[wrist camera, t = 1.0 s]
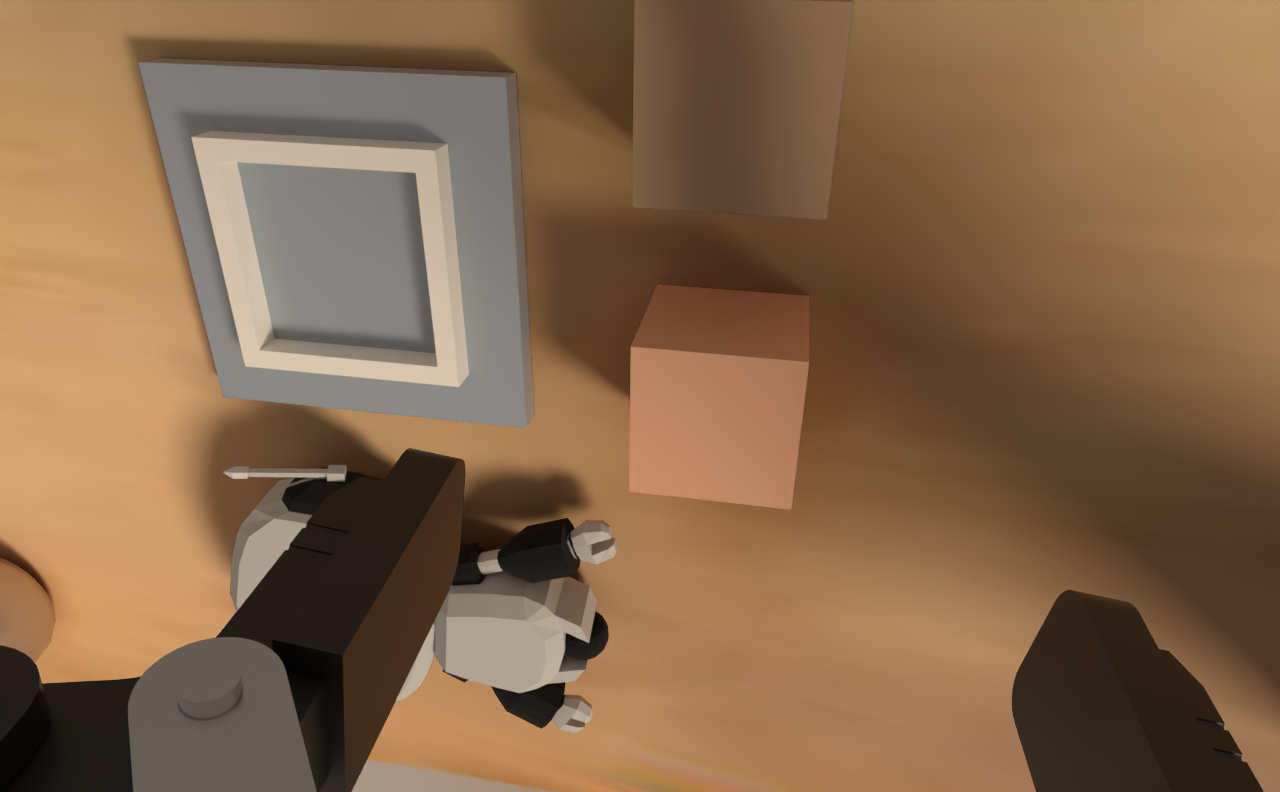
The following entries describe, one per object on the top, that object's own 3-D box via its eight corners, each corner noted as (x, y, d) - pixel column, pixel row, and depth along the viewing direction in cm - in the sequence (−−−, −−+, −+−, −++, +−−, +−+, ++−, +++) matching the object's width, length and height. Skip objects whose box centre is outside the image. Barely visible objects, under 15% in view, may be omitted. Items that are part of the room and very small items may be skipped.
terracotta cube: (809, 294, 28) (809, 362, 23) (794, 426, 30) (791, 509, 26) (657, 283, 28) (630, 346, 24) (654, 412, 31) (629, 491, 26)
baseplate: (515, 72, 26) (495, 82, 24) (534, 414, 32) (518, 442, 30) (159, 58, 28) (115, 66, 26) (238, 384, 33) (207, 409, 32)
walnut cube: (845, -11, 23) (854, 1, 19) (823, 171, 26) (826, 219, 21) (665, -16, 24) (634, -4, 20) (660, 162, 26) (632, 207, 22)
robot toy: (634, 473, 33) (261, 413, 34) (621, 547, 29) (198, 477, 30) (601, 689, 39) (285, 636, 40) (587, 774, 35) (236, 714, 36)
